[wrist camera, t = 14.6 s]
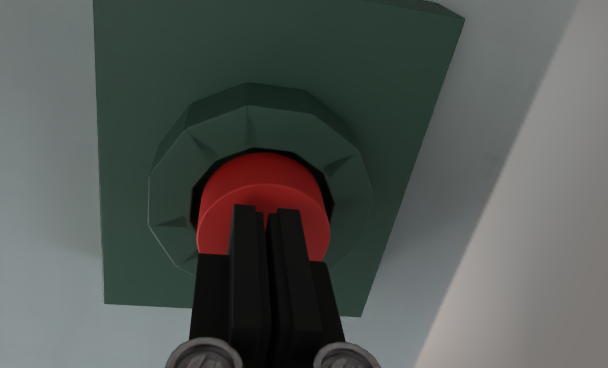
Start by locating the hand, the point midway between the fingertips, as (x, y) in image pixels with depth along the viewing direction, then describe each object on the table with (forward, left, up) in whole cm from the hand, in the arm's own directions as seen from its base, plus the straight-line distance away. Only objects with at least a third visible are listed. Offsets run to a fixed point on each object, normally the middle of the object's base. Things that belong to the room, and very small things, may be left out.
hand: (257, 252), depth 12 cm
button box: (0, 0, -6) cm, 6 cm away
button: (0, 0, -2) cm, 2 cm away
